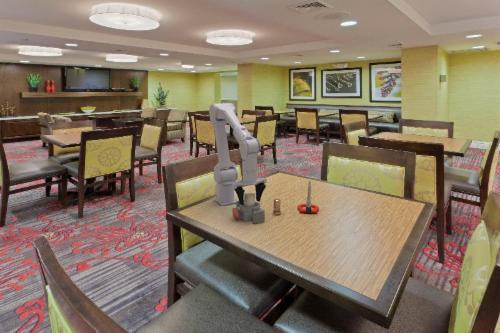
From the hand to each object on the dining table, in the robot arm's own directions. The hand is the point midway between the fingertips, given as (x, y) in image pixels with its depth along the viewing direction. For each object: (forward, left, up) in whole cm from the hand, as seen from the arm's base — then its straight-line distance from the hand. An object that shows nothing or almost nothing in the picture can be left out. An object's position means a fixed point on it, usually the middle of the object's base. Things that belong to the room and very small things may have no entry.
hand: (249, 202), depth 129 cm
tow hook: (+6, +25, -6) cm, 26 cm away
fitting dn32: (+3, +11, -6) cm, 13 cm away
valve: (0, -1, -6) cm, 6 cm away
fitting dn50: (0, 0, -3) cm, 3 cm away
